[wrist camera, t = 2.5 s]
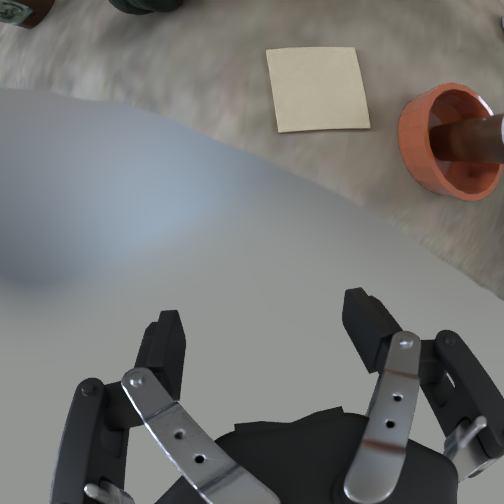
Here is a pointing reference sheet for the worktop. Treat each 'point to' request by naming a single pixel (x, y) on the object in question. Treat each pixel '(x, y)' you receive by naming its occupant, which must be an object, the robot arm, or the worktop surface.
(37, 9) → the olive oil
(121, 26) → the worktop surface
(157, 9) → the squash
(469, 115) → the pot
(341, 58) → the cloth
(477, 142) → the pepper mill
